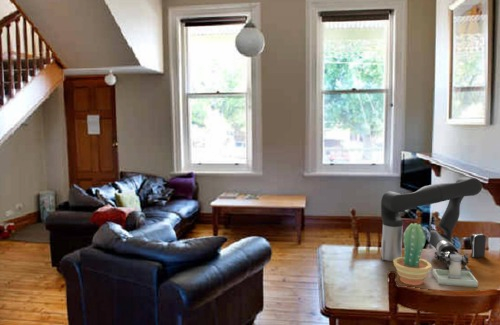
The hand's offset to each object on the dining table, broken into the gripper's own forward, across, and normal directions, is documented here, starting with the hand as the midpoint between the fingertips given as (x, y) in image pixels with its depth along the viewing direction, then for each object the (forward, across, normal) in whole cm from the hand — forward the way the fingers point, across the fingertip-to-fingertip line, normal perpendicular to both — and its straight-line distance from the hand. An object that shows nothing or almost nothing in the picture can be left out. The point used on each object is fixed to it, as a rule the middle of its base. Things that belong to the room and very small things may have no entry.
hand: (457, 263), depth 171 cm
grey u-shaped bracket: (-16, +5, +8) cm, 18 cm away
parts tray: (-3, 0, +8) cm, 9 cm away
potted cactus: (+1, -18, +9) cm, 20 cm away
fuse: (-3, 0, +8) cm, 8 cm away
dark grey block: (-38, +19, +9) cm, 43 cm away
